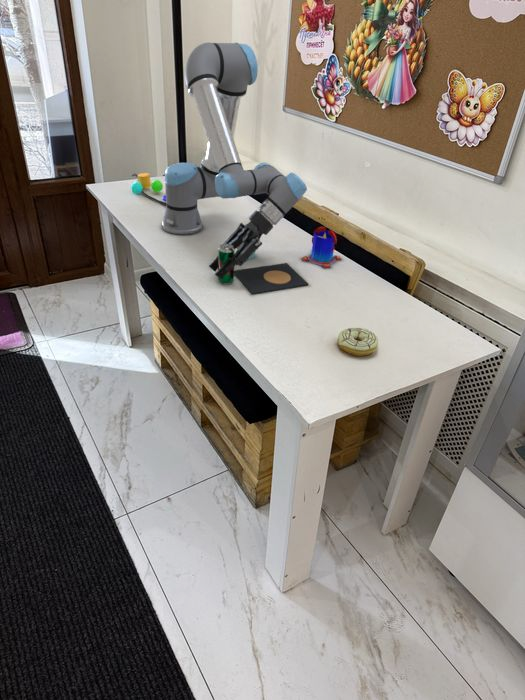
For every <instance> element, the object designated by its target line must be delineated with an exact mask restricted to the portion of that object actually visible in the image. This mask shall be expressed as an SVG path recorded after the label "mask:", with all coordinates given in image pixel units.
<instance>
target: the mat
mask: <svg viewBox="0 0 525 700" xmlns="http://www.w3.org/2000/svg"><path fill="white" fill-rule="evenodd" d="M234 276H235V277H236V278H237V279H238V280H239V281H240V282H241V284H242V285H243V286H244V287H245V289H246V290H247V291H248V292H249V293H250V294H251V295H253V296H254V295H258V294H260V295H261V294H265V293H271V292H277V291H283V290H290V289H295V288H302V287H309V283H308V282H307V281H306V280H305V279H304V278H303V277H302V276H301V275H300V274H299V273H298V272H297V271H296V270H295V269H294V268H292V266H290V265H289V264H288V263H287V262H285V263H277V264H270V265H263V266H256V267H250V268H242V269H234Z"/></svg>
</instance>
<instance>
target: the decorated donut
mask: <svg viewBox="0 0 525 700" xmlns="http://www.w3.org/2000/svg"><path fill="white" fill-rule="evenodd" d="M337 345H338V348H340V349H341V350H342V351H344V352H345V353H348V354H350V355H353V356H359V357H363V356H368V355H371V354H373V353H374V352H375V351H376V350H377V349H378V345H379V337H378V335H376V334H375V333H374V332H372V331H371V330H369V329H367V328H362V327H350V328H346V329H342V330H341V331H340V332H339V333H338V335H337Z"/></svg>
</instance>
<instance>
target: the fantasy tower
mask: <svg viewBox="0 0 525 700" xmlns="http://www.w3.org/2000/svg"><path fill="white" fill-rule="evenodd" d="M337 241H338V238H337V235H336V233H335V232H334V231H333V230H332V229H327V227H325V226H320V227H317V228H316V229H315V230H314V231H313V236H311V243H312V246H311V254H310V255H309V256H307V255H305V256H303V257H301V261H302V262H306V263H311V264H315V265H318V266H320V267H321V268H323V269H331V268H332V266H331V265H333V264H334V263H336V262H339V261H342V259H341V257H340V256H339V255H334V253H335V251H334V250H335V249H336V247H335V245H337Z"/></svg>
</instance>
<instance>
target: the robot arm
mask: <svg viewBox="0 0 525 700" xmlns="http://www.w3.org/2000/svg"><path fill="white" fill-rule="evenodd" d="M258 69H259V68H258V61H257V56H256V53H255V52H254V50H253V48H252V47H251V46H250V45H248V44H247V43H239V42H204V43H201V44H198V45H197V46H196V47H195V48H194V49H192V52H190V54H189V56H188V58H187V61H186V66H185V73H184V77H185V85H186V88H187V92H188V94H189V96H190V97H191V98H193V99H194V102H195V105H196V108H197V111H198V114H199V117H200V120H201V123H202V126H203V129H204V132H205V134H206V139H207V149H206V155H204V156H203V157H202V158H201V162H200V166H197V165H196V164H195V163H193V162H177V163H173V164H171V165H169V166H167V168H166V169H165V171H164V188H165V189H164V190H165V195H166V201H163V200H159V199H157V198H155V197H153V196H150V195H149V194H147V193H146V192H144V191H143V190H142V192H141V193H140V194H142V195H144V196H145V197H147V198H148V199H151V200H152V201H155V202H157V203H160V204H162V205H164V206H165V210H164V211H165V212H164V215H163V218H162V222H161V225H162V229H163V231H165V232H166V233H169V234H172V235H177V236H179V235H180V236H187V235H194V234H196V233H199V232H200V231H202V229H203V221H202V217H201V215H200V212H199V208H198V200H204V199H210V198H221V199H236V198H242V197H248V196H256V195H262V194H267V195H268V196H267V197H266V199H265V200H263V201H262V203H261V204H260V205H259V206H258V207H257V209H258V210H254V212H253V213H251V214H250V216H249V217H248V220H249V221H248V223H247V224H244V223H243V222H240V223H239V225H238V226H237V228H236V229H234V231H233V232H232V233H231V234H230V235H229V237H228V238H227V239H226V240H225V241H224V242H223V243H222V244H231V245H233V248H234V249H235V254H234V255H233V257H232V258H229V259H228V260H227V261H226V262H225V264H224V265H223V266H222V267H221V268H220V269H219V270H218V255H217V256H216V257H215V259H214V260H213V261H212V262H211V263H210V264H209V265H208V267H209V268H210V269H211V270H212V271H214V272H215V273H214V275H215V276H216V277H217V278H218V277H219V278H220V279H221V280H222V278H223V277H224V276H225V275H226V274H227V273H228V272H229V271H230V270H231V269H232V268H233V267H234V268H235V267H236V266H239V267H241V266H243V265H244V263H245V262H247V260H249V259H248V258H249V257H250V255H251V254H252V253H253V252H254V251H255V250H256V249H257V248H258V247H259V248H260V247H261V246H262V245H263V242H262V241H261V238H262V236H263V235H264V236H267V235H268V234H269V233H270V232H271V231H272V230H273V228H274V226H277V225H278V223H279V222H280V221H281V220H282V219H283V218H284V217H285V216H286V214H287V213H288V212H290V210H291V209H292V208H293V207H294V206H295V205H296V204H297V203H298V202H299V201H300V200H301V199H302V197H303V196H304V195H305V193H306V192H307V191H308V186H307V185H306V183H305V182H304V181H303V180H302V179H301V177H299V176H298V175H297V174H296V173H294V172H289V173H288V174H286V175H284V174H283V173H282V172H280V171H279V170H278V169H277V168H276V167H275V166H273V165H271V164H270V163H268V162H260V163H259V164H257V165H256V166H254V168H252V169H244V167H243V164H242V161H241V158H240V155H239V152H238V149H237V146H236V142H235V139H234V137H235V133H236V132H235V131H236V126H237V120H238V114H239V110H240V104H241V98H242V97H244V96H246V95H247V91H248V90H247V89H248V87H249V86H252V85H254V83H256V81H257V78H258V71H259V70H258ZM131 177H136V178H137V179H138V174H136V173H132V174H131ZM238 246H240V247H239V248H238V249H237V247H238ZM259 248H258V249H259ZM258 249H257V250H258ZM257 250H256V251H257Z"/></svg>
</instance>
